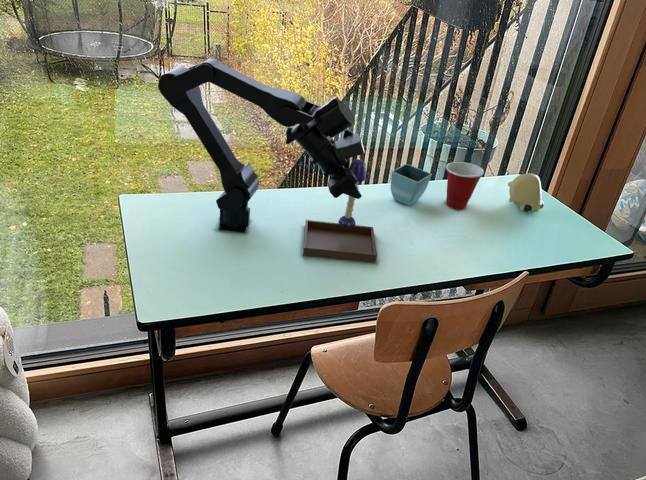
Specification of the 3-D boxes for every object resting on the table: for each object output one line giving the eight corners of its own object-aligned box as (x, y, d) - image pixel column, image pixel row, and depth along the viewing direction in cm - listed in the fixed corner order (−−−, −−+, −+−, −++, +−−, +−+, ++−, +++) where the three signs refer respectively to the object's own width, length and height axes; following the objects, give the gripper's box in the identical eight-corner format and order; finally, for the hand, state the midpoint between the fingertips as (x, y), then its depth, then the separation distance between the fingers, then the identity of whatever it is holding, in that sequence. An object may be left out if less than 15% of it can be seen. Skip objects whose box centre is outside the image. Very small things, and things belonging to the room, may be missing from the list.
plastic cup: (448, 192, 173) (457, 156, 167) (479, 206, 169) (490, 169, 162) (430, 203, 166) (439, 165, 159) (462, 217, 161) (473, 179, 154)
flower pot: (425, 201, 166) (432, 173, 161) (411, 211, 160) (418, 182, 155) (400, 190, 169) (406, 163, 164) (385, 199, 163) (390, 171, 158)
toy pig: (507, 218, 173) (531, 211, 163) (498, 180, 173) (522, 170, 164) (531, 214, 177) (556, 206, 168) (523, 177, 178) (547, 167, 168)
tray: (302, 255, 132) (303, 247, 131) (304, 227, 143) (305, 219, 142) (375, 263, 135) (376, 255, 133) (371, 234, 145) (373, 226, 144)
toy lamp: (360, 224, 139) (371, 161, 130) (352, 231, 136) (363, 167, 126) (343, 217, 141) (353, 155, 131) (334, 224, 137) (344, 161, 128)
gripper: (353, 140, 116) (395, 191, 125) (340, 108, 131) (378, 156, 139) (311, 172, 118) (354, 221, 127) (302, 137, 133) (342, 183, 142)
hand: (358, 193), depth 134 cm, fingers closed on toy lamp, 4 cm apart
